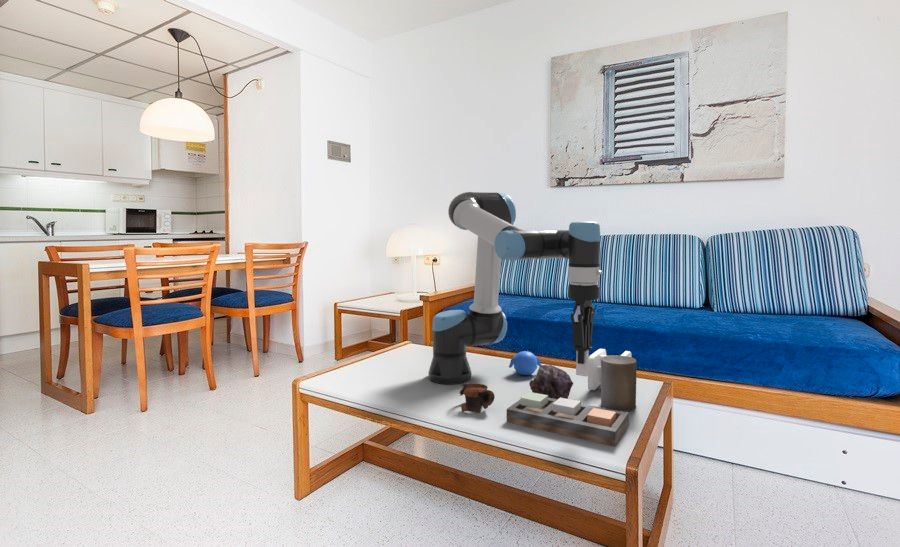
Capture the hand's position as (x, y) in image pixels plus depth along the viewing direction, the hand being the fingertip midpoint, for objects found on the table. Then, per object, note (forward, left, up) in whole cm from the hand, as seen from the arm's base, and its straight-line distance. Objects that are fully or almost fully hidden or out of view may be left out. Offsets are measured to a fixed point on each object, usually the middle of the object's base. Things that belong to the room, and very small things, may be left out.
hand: (582, 374), depth 118 cm
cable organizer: (-28, +20, -14) cm, 37 cm away
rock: (-23, 0, -14) cm, 27 cm away
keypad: (-2, -3, -14) cm, 14 cm away
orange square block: (+3, +4, -11) cm, 12 cm away
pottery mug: (-16, -25, -14) cm, 33 cm away
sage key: (-8, -10, -10) cm, 16 cm away
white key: (-2, -3, -10) cm, 11 cm away
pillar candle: (-13, +16, -14) cm, 25 cm away
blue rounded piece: (-48, -3, -14) cm, 50 cm away
